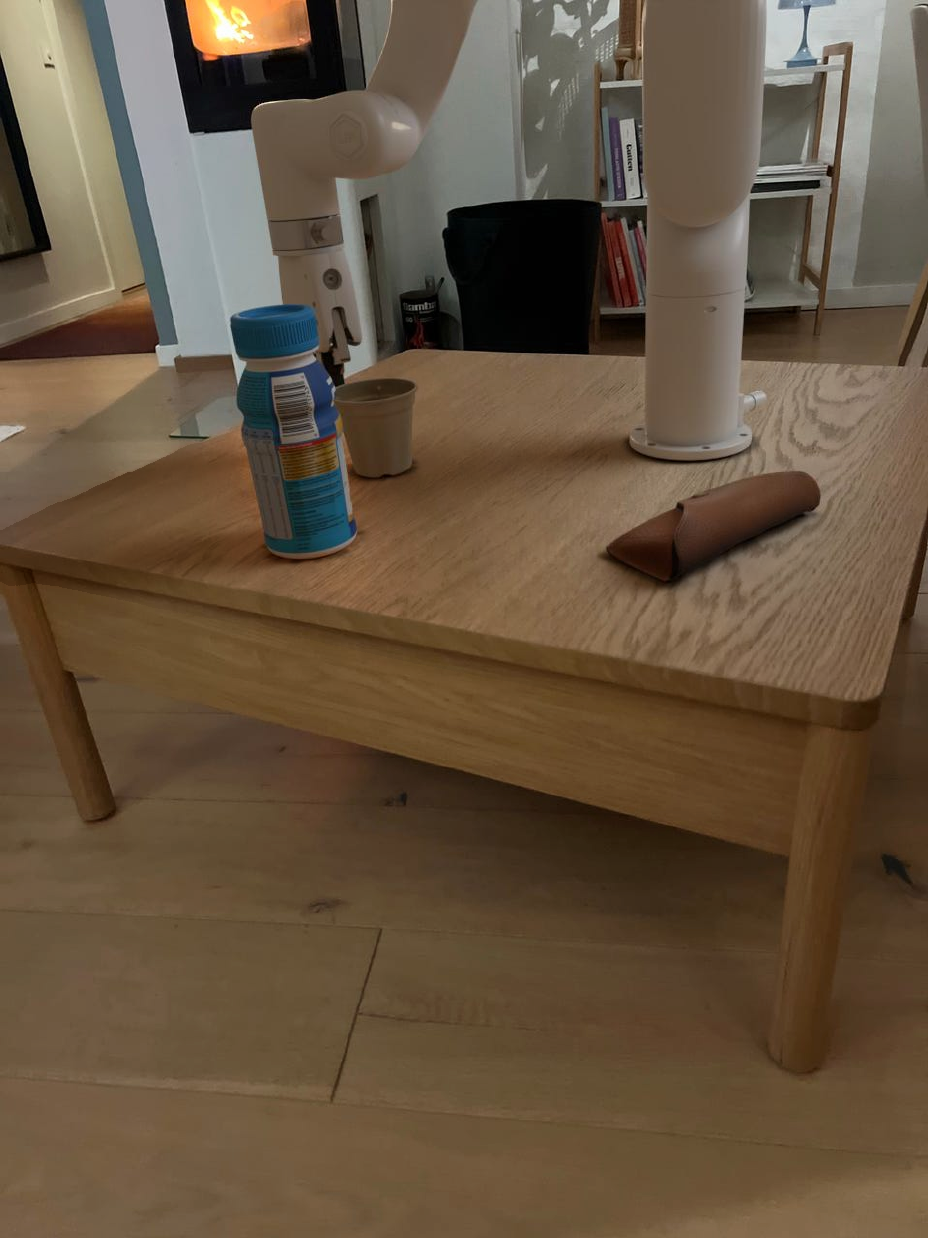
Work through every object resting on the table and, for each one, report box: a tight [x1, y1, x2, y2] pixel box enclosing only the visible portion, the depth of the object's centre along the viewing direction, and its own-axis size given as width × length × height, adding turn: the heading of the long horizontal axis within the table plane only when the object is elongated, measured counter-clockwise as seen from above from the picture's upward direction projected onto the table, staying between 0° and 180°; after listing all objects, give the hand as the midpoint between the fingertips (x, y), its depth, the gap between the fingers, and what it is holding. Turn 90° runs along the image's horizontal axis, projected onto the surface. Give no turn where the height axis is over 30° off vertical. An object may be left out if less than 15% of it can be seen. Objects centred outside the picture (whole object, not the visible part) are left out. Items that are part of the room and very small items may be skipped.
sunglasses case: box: [605, 470, 821, 583], centre depth 74 cm, size 18×7×7 cm
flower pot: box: [334, 377, 419, 479], centre depth 95 cm, size 9×9×9 cm
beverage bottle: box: [229, 304, 358, 560], centre depth 76 cm, size 8×8×20 cm
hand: (332, 409), depth 103 cm, fingers closed
